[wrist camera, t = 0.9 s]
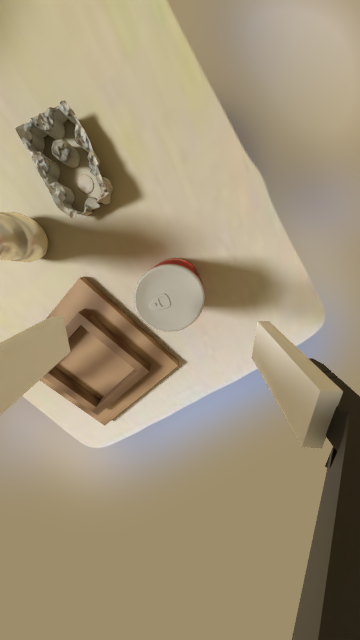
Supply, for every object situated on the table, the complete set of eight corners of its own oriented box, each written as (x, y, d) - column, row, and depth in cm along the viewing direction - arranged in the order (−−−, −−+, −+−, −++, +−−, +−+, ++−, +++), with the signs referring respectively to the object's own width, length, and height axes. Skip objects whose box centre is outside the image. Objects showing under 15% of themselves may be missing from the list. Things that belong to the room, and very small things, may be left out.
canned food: (141, 279, 32) (118, 295, 22) (179, 246, 30) (174, 247, 20) (171, 314, 34) (163, 344, 24) (209, 285, 32) (219, 305, 22)
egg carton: (121, 201, 28) (110, 195, 24) (77, 223, 30) (60, 220, 26) (81, 111, 25) (62, 87, 21) (33, 139, 26) (7, 122, 22)
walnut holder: (18, 356, 38) (2, 367, 35) (84, 276, 32) (72, 280, 29) (107, 419, 43) (100, 434, 40) (178, 361, 37) (177, 372, 34)
